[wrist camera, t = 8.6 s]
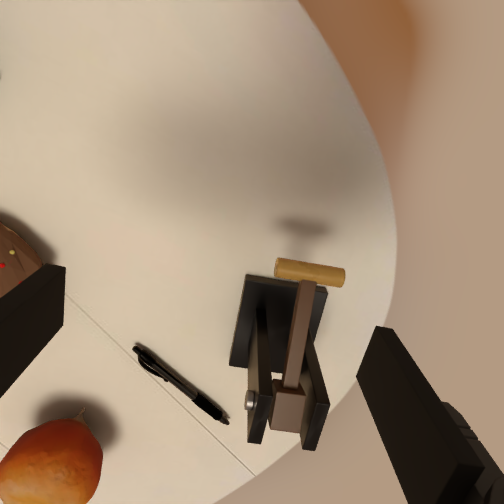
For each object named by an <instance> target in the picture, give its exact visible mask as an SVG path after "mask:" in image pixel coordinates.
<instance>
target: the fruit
mask: <svg viewBox="0 0 504 504" xmlns="http://www.w3.org/2000/svg"><path fill="white" fill-rule="evenodd" d="M84 410H85V409H84V407H83V408H82V410H81V412H80V413H79V414H78V416H76V417H75V418H66V419H58V420H52V421H49V422H46V423H44V424H42V425H40V426H38V427H36V428H33V429H31V430H28V431H27V432H25V433H24V434H23V435H22V436H21V437H20V438H19V439H18V440H17V441H16V443H15V444H14V445H13V446H12V447H11V448H10V450H9V451H8V453H7V454H6V455H5V457H4V458H3V459H2V461H1V462H0V498H1V499H2V501H3V503H4V504H86V503H87V502H88V501H89V500H90V499H91V498H92V496H93V495H94V493H95V491H96V489H97V486H98V483H99V480H100V476H101V468H102V461H103V452H102V449H101V446H100V444H99V442H98V441H97V439H96V438H95V437H94V436H93V434H92V433H91V431H90V429H89V427H88V426H87V425H86V423H85V421H84V419H83V417H82V414H83V413H84Z"/></svg>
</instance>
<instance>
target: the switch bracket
mask: <svg viewBox="0 0 504 504" xmlns="http://www.w3.org/2000/svg"><path fill="white" fill-rule="evenodd" d="M298 284H299V283H294V282H288V281H282V280H275V279H269V278H263V277H257V276H251V275H246V276H245V281H244V286H243V292H242V297H241V302H240V307H239V312H238V317H237V322H236V327H235V333H234V338H233V343H232V348H231V353H230V358H229V366H234V367H241V368H248V390H247V392H246V396H245V410H248V434H247V442H248V443H255V444H261V442H262V438H263V435H264V431H265V427H266V423H267V419H268V415H269V411H270V407H271V404H272V400H273V388H272V376H271V372H275V373H282V374H283V369H284V363H285V358H286V352H287V346H288V341H289V335H290V329H291V324H292V318H293V312H294V307H295V301H296V295H297V290H298ZM327 295H328V292H327V290H326V288H324V287H318V286H316V289H315V294H314V300H313V306H312V311H311V317H310V322H309V328H308V333H307V339H306V345H305V350H304V356H303V361H302V367H301V373H300V378H299V382H300V383H301V386H302V388H303V390H304V392H305V394H306V396H307V397H306V402H305V408H304V413H303V419H302V424H301V430H300V438H301V444H302V449H303V450H310V451H315V450H316V447H317V444H318V441H319V437H320V435H321V432H322V428H323V425H324V423H325V420H326V417H327V414H328V411H329V408H330V401H329V398H328V394H327V391H326V387H325V383H324V380H323V376H322V372H321V369H320V365H319V362H318V358H317V354H316V351H315V347H314V340H315V337H316V334H317V330H318V327H319V323H320V320H321V316H322V313H323V309H324V306H325V302H326V299H327Z"/></svg>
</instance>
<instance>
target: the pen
mask: <svg viewBox="0 0 504 504" xmlns="http://www.w3.org/2000/svg"><path fill="white" fill-rule="evenodd" d="M132 350H133V351H134V352H135V353H136V354H137V355H138V361H139V363H140V365H141V366H142V367H143V368H144V369H146V370H147V371H148V372H150V373H152V374H154V375H156V376H158V377H161V378H163V379H164V381H165V382H168V381H169V382H170V383H171V384H173V385H174V386H175V387H176V388H178V389H179V390H180V391H181V392H183V393H184V394H185V395H186V396H188V397H189V398H190V399H191V400H192V401H193V402H194V403H195V404H196V405H197V406H198V407H199V408H201V409H202V410H203V411H205V412H206V413H207V414H209V415H210V416H211V417H213V418H214V419H215V420H218V421H220V422H221V423H223V424H226V425H229V421H228V419H227V418H226V417H225V416H224V415H223V414H222V411H220V410H219V409H218V408H216V407H215V406H214V405H213V404H212V403H211V402H209V401H208V400H207V399H206V398H205V397H203V396H202V395H200V394H199V393H198V392H196V391H194V390H193V389H192V388H191V387H189V386H188V385H187V384H186V383H184V382H183V381H182V380H181V379H180V378H178V377H177V376H176V375H175V374H173V373H172V372H171V371H170V370H168V369H167V368H166V367H165V366H164V365H162V364H161V363H160V362H159V361H157V360H156V359H155V358H154V357H153V356H152V355H151V354H150V353H148V352H147V351H145V350H142V349H140V348H139V347H138V346H134V347H133V348H132ZM145 363H146V364H147V365H148V366H147V365H146V364H145ZM149 366H150V367H151V368H150V367H149ZM152 368H153V369H154V370H153V369H152Z"/></svg>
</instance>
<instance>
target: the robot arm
mask: <svg viewBox="0 0 504 504" xmlns="http://www.w3.org/2000/svg"><path fill="white" fill-rule="evenodd" d="M65 273H66V267H62V266H57V265H52V264H45V265H43V266H42V267H41V268H39V269H38V270H37V271H35V272H34V273H33V274H31V275H30V276H29V277H27V278H26V279H25V280H24V281H22V282H21V283H20V284H18V285H17V286H16V287H14V288H13V289H12V290H10V291H9V292H8V293H6V294H5V295H4V296H2V297H1V298H0V398H1V397H2V396H3V395H4V393H5V392H6V391H7V390H8V389H9V388H10V386H11V385H12V384H13V383H14V382H15V381H16V379H17V378H18V377H19V376H20V375H21V374H22V372H23V371H24V370H25V369H26V368H27V367H28V366H29V364H30V363H31V362H32V361H33V360H34V359H35V357H36V356H37V355H38V354H39V353H40V352H41V350H42V349H43V348H44V347H45V346H46V345H47V343H48V342H49V341H50V340H51V339H52V338H53V337H54V335H55V334H56V333H57V332H58V331H59V330H60V328H61V327H62V326H63V319H64V296H65ZM356 378H357V380H358V382H359V385H360V387H361V390H362V392H363V395H364V397H365V400H366V402H367V405H368V407H369V409H370V412H371V414H372V417H373V419H374V422H375V424H376V426H377V429H378V431H379V434H380V436H381V438H382V441H383V444H384V446H385V448H386V451H387V453H388V456H389V458H390V461H391V463H392V465H393V468H394V470H395V473H396V475H397V477H398V480H399V483H400V485H401V487H402V489H403V492H404V495H405V497H406V500H407V502H408V504H504V474H503V473H502V471H501V470H500V469H499V467H498V466H497V464H496V463H495V461H494V460H493V459H492V457H491V456H490V455H489V453H488V452H487V450H486V449H485V448H484V446H483V444H482V443H481V442H480V441H478V437H477V436H476V435H475V433H474V432H473V430H471V429H470V426H469V425H468V423H467V422H466V420H465V419H464V418H463V416H462V415H461V414H460V413H459V412H458V411H457V410H456V409H454V407H452V406H451V405H450V404H449V403H447V402H441V400H440V399H439V397H438V396H437V394H436V393H435V391H434V390H433V388H432V387H431V385H430V384H429V382H428V381H427V379H426V378H425V377H424V375H423V373H422V372H421V371H420V369H419V367H418V366H417V365H416V363H415V361H414V360H413V359H412V357H411V356H410V354H409V353H408V351H407V350H406V348H405V347H404V345H403V344H402V342H401V341H400V339H399V338H398V336H397V335H396V333H395V332H394V330H393V329H390V328H385V327H380V326H376V327H375V329H374V332H373V334H372V337H371V340H370V342H369V345H368V347H367V350H366V352H365V355H364V357H363V360H362V362H361V365H360V368H359V370H358V373H357V375H356Z"/></svg>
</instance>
